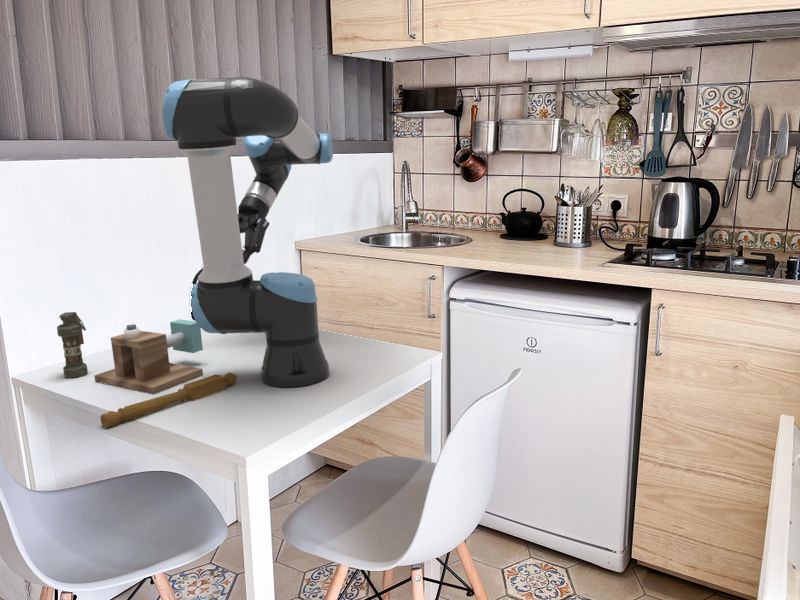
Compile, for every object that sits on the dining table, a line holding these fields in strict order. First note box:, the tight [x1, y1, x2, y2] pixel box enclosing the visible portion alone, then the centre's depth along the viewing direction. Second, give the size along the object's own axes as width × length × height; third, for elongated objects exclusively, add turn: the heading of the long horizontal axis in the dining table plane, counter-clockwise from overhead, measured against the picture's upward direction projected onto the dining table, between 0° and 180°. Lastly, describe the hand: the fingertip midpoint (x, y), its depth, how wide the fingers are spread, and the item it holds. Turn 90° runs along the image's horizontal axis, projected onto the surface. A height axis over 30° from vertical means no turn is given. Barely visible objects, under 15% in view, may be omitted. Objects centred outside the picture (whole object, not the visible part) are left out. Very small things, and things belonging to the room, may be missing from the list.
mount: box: [94, 330, 204, 395], centre depth 154 cm, size 20×14×10 cm
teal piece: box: [166, 319, 204, 354], centre depth 160 cm, size 7×12×7 cm, turn 149°
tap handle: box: [100, 372, 238, 429], centre depth 138 cm, size 3×3×30 cm
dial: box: [123, 323, 141, 340], centre depth 150 cm, size 3×3×3 cm
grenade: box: [56, 311, 88, 379], centre depth 159 cm, size 6×6×15 cm
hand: (219, 271), depth 170 cm, fingers open, 9 cm apart
